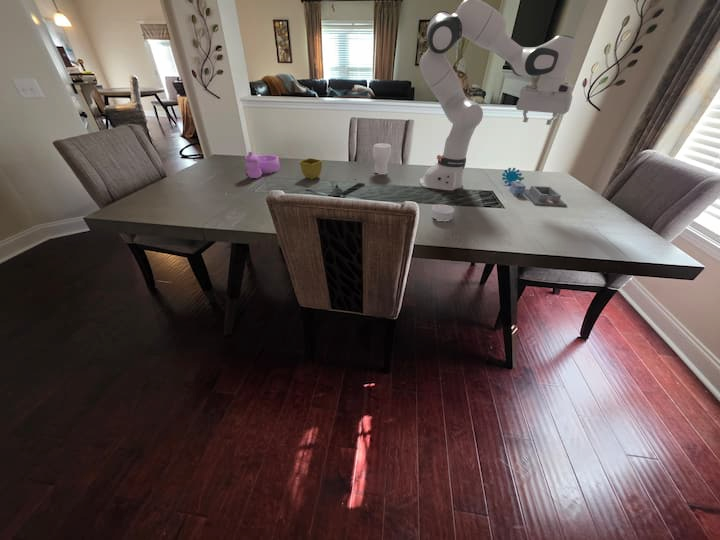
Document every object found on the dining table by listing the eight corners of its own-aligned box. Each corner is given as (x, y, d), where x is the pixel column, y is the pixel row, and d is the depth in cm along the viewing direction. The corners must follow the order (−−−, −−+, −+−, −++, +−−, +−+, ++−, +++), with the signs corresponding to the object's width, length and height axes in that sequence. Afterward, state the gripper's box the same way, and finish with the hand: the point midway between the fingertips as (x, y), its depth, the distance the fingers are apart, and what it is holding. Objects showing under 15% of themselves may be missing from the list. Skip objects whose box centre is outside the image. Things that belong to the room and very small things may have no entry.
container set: (261, 165, 173) (256, 142, 165) (284, 166, 171) (280, 143, 163) (239, 178, 153) (233, 153, 145) (265, 180, 151) (260, 155, 143)
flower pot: (323, 177, 157) (322, 160, 151) (313, 181, 151) (311, 164, 145) (311, 174, 160) (309, 157, 155) (300, 178, 154) (299, 161, 149)
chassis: (534, 205, 130) (537, 197, 127) (520, 190, 144) (523, 183, 142) (566, 206, 129) (570, 198, 126) (549, 192, 143) (552, 184, 141)
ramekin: (429, 213, 122) (430, 203, 119) (449, 213, 121) (451, 204, 119) (432, 222, 114) (434, 213, 112) (454, 223, 114) (456, 213, 112)
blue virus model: (500, 181, 149) (505, 164, 150) (496, 186, 155) (501, 170, 156) (522, 187, 148) (526, 169, 149) (517, 191, 153) (521, 175, 154)
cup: (372, 169, 169) (373, 142, 160) (390, 170, 168) (392, 143, 159) (370, 175, 160) (371, 147, 151) (389, 176, 159) (391, 148, 150)
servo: (514, 197, 137) (518, 185, 134) (508, 189, 145) (512, 178, 142) (523, 197, 137) (527, 185, 134) (516, 189, 145) (520, 178, 142)
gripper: (520, 85, 120) (509, 121, 128) (576, 88, 109) (560, 127, 118) (524, 84, 124) (513, 119, 132) (578, 87, 113) (563, 125, 122)
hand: (536, 123), depth 125 cm, fingers open, 8 cm apart
